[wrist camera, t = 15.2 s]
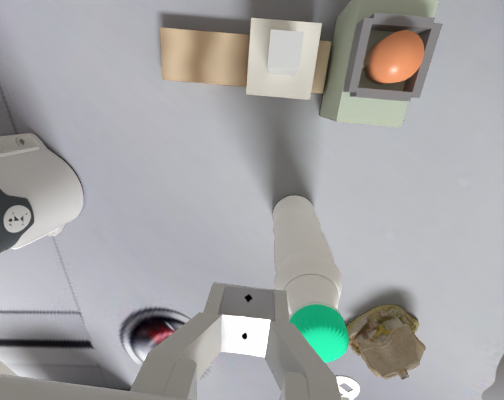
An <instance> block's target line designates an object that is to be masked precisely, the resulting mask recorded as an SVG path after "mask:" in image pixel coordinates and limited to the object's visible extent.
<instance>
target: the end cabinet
mask: <svg viewBox="0 0 504 400" xmlns="http://www.w3.org/2000/svg"><path fill="white" fill-rule="evenodd" d="M438 2H439V0H351V1H350V2H349V4H348V5H347V6H346V7H345V9H344V10H343V11H342V12H341V13H340V15H339V16H338V17H337V20H336V25H335V31H334V37H333V42H332V48H331V54H330V59H329V65H328V71H327V76H326V82H325V88H324V93H323V99H322V105H321V110H320V116H321V117H324V118H327V119H330V120H333V121H336V122H346V123H357V124H368V125H379V126H390V127H401V125H402V122H403V119H404V115H405V112H406V109H407V105H408V102H409V101H410V99H411V98H419V97H420V94H421V91H422V88H423V85H424V81H425V78H426V75H427V72H428V69H429V65H430V62H431V59H432V56H433V53H434V49H435V46H436V43H437V40H438V37H439V33H440V30H441V27H442V24H439V23H433V22H434V19H435V18H434V15H435V12H436V8H437V5H438ZM402 30H409V31H412V32H415V33H416V34H417V35H419V37H420V38H421V39H422V41H423V44H424V57H423V60H422V63H421V65H420V67H419V68H418V70H417V71H416V72H415V73H414V74H413V75H412V76H411V77H409V78H408V79H406V80H404V81H401V82H395V83H387V84H376V83H374V82H372V81H371V80H370V79H369V78H368V77H367V75H366V73H365V69H364V62H365V58H366V55H367V53H368V51H369V50H370V49H371V47H372V46H373V45H374V44H376V43H377V42H379V41H380V40H382V39H384V38H386V37H388V36H390V35H391V34H393V33H395V32H398V31H402Z"/></svg>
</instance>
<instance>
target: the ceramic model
mask: <svg viewBox="0 0 504 400" xmlns="http://www.w3.org/2000/svg"><path fill="white" fill-rule="evenodd" d="M418 326H419V323H418V320H417V319H414V318H413V317H411V316H410V315H409V314H407V313H406V312H405V310H404V309H402V308H401V307H400V306H396V305H382V306H377V307H375V308H373V309H371V310H369V311H368V312H366V313H364V314H362V315H361V316H359V317H358V318H356V319H355V320H354V321H352V322H351V323H350V324H348V326H347V327H346V328H347V331H348V337H349V343H348V345H349V346H350V347H351V349H352V350H353V352H354V353H356V354H357V355H358V356H359V355H361V357H362V359H363V360H364V361H365V362H366V364H367V366H368V368H369V369H370V371H371V372H373V373H374V374H375V375H376V376H377V377H382V378H384V379H385V380H386V379H390V378H392V377H395V376H397V375H399V376H400V378H401V379H402V380H403V379H405V378H406V377H409V375H408V373H407V371H408V370H412V369H414V368H416V367H417V366H419V365H420V360H421V357H422V355H423V352H424V351H425V348H426V347H425V345H424V344H423V343H422V342H421V341H420V340H419V339H418V338H417V337H416V335H415V334H414V333H415V332H416V330H417V328H418Z"/></svg>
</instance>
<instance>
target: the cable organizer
mask: <svg viewBox="0 0 504 400" xmlns="http://www.w3.org/2000/svg"><path fill="white" fill-rule="evenodd" d="M336 379H337V383H338V387H339V392H340V393H342V394H343V395H341V400H348V399H349V400H352V399H354V398H355V397H356V396H357V395H358V394H359V392H360V387H359V385H358V383H357V382H356V381H355V380H354V379H352V378H350V377H346V376H336ZM344 382H345V383H346V384H347V385H348V386H350V387H351V388H352V390H351V391H349V392H348V391H346V390H345V389H344V388H342V387H341V386H340V384H342V383H344Z"/></svg>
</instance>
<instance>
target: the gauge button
mask: <svg viewBox="0 0 504 400" xmlns="http://www.w3.org/2000/svg"><path fill="white" fill-rule="evenodd" d="M423 57H424V44H423V41H422V39H421V38H420V37H419V35H417V34H416V33H415V32H412V31H409V30H402V31H398V32H395V33H393V34H391V35H390V36H388V37H386V38H384V39H382V40H380V41H379V42H377V43H376V44H374V45H373V46H372V47H371V49H370V50H369V51H368V53H367V55H366V58H365V62H364V69H365V73H366V75H367V77H368V78H369V79H370V80H371V81H372V82H374V83H376V84H387V83H395V82H401V81H404V80H406V79H408V78H409V77H411V76H412V75H413V74H414V73H415V72H416V71H417V70H418V68H419V67H420V65H421V63H422V60H423Z"/></svg>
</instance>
